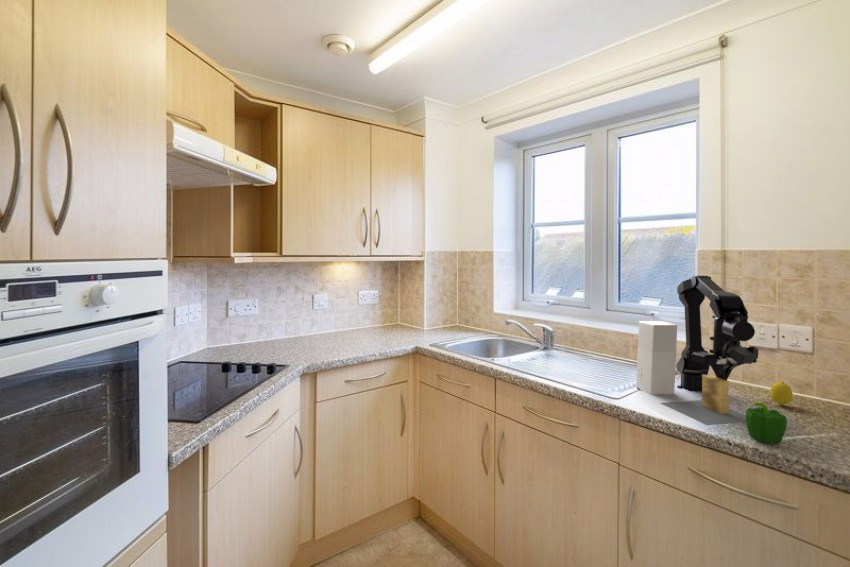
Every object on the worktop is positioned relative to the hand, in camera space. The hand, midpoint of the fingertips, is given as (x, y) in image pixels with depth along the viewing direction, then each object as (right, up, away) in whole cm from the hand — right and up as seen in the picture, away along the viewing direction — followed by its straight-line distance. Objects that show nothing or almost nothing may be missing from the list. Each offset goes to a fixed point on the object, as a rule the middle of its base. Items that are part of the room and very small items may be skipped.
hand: (722, 384), depth 129 cm
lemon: (+23, -9, +6) cm, 25 cm away
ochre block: (-2, -8, 0) cm, 8 cm away
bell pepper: (-3, -10, -20) cm, 23 cm away
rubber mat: (-6, -9, -2) cm, 11 cm away
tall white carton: (-11, -8, +19) cm, 23 cm away
